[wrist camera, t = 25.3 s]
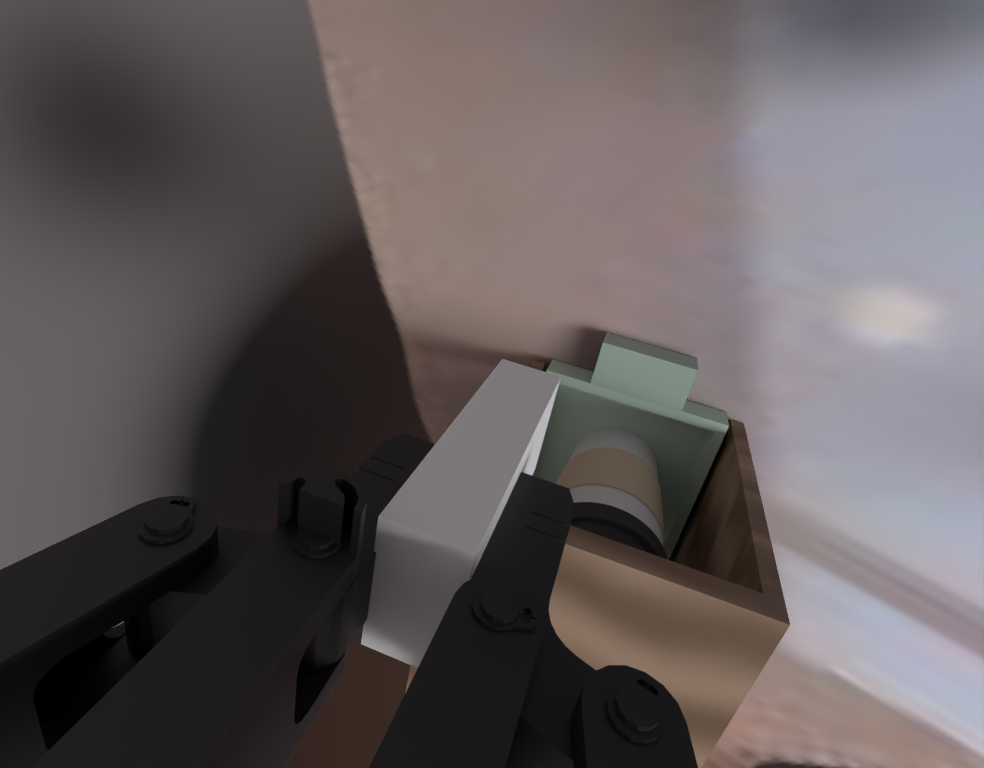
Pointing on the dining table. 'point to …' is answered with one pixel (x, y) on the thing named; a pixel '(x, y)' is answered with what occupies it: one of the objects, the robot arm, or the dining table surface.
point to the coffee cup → (617, 489)
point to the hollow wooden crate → (682, 599)
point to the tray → (638, 419)
